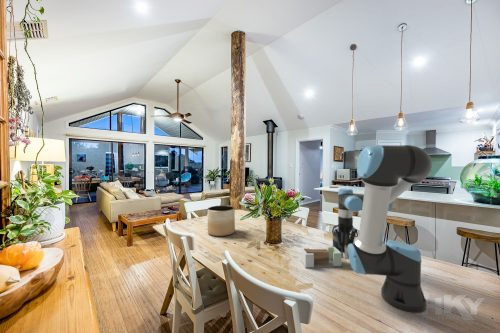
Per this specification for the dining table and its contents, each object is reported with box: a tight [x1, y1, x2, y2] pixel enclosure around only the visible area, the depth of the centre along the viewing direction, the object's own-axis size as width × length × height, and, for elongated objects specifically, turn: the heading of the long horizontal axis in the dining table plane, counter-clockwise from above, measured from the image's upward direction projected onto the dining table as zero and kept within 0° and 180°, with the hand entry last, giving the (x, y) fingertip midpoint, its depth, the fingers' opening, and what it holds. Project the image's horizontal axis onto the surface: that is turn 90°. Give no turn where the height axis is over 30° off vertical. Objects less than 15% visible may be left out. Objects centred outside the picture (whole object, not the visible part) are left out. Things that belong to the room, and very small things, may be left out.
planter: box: [207, 204, 236, 237], centre depth 176 cm, size 22×22×20 cm
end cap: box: [326, 246, 343, 266], centre depth 122 cm, size 9×4×7 cm, turn 2°
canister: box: [332, 224, 346, 257], centre depth 134 cm, size 10×10×18 cm
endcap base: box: [300, 247, 343, 269], centre depth 122 cm, size 9×20×7 cm, turn 92°
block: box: [305, 248, 329, 265], centre depth 122 cm, size 4×12×7 cm, turn 88°
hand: (345, 258), depth 122 cm, fingers closed
